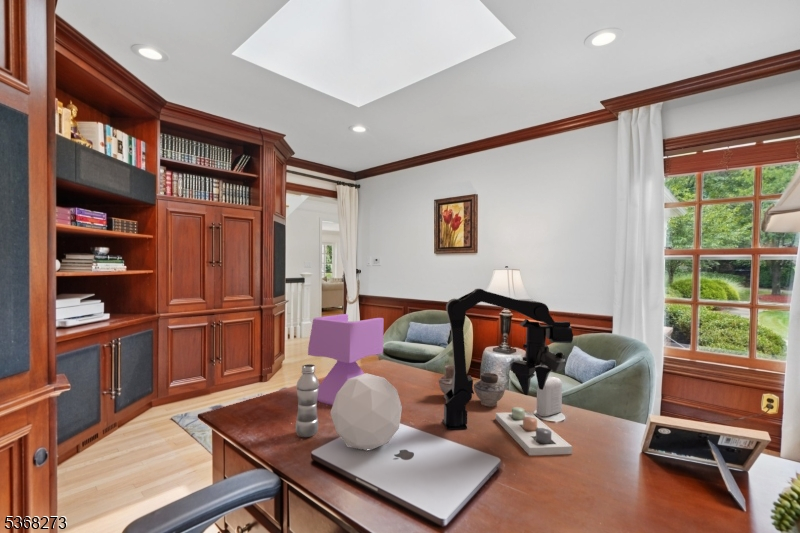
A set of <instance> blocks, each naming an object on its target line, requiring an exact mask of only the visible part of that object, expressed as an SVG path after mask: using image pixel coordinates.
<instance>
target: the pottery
mask: <svg viewBox="0 0 800 533" xmlns="http://www.w3.org/2000/svg"><path fill="white" fill-rule="evenodd" d="M444 368H445V375H443V376H442V377H440V378H439V379H438V381H437V382H438V386H439V388H440V390H441V392H442V393H443V394H444V395H443V398H444V399H445V400H446V398H445V394H446V393H447V392H448V391H449V390H450V389H451V388H452V380H453V374H454V364H447V365H445V366H444ZM480 379H481V380H479V381H477V382H475V383H473V392H474V394H475V395H476V397H477V398H478V399H479V400H480V404H481V405H482V406H485V407H496V406H497V405H498V402H499V401H500V400H501V399H502V398H503V396H504V395H505V391H506V388H505V386H504V385H503V384H501V383H500V382H498V380H499V375H498V374H497V373H494V372H482V373H480Z"/></svg>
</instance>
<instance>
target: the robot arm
mask: <svg viewBox="0 0 800 533" xmlns="http://www.w3.org/2000/svg"><path fill="white" fill-rule="evenodd" d="M479 303H485V304H490V305H493V306H496V307H500V308H504V309H507V310H510V311H514V312H517V313H519V314H521V315H522V316H526V318H524V320H523V321H522V322H520V323H519V325H520V326H521V327H522V328H526V334H525V335H526V336H525V337H526V338H525V343H523V344H522V348H523V349H525V356H523V357H522V360H514V361H513V362H511V363H510V367H509V369H510V371H511V372H512V373H513V374H514V375H515V377H516V379H517V381H518V383H519V385H520V387H521V391H522V392H523V395H525V396H528V395H529V392H530V386H531V379H533V377H535V376H536V381H537V384H538V386H539V389H541V390H543V388H544V386H545V383H546V380H547V377H549V375H550V373H552V372H555V373H556V372H558V371H562V369H563V367H564V365H566V363H567V362H566V356H565V353H563V352H561V351H559V352H557V353H556V354H555V353H554V352H551V351H550V347H549V345H546V342H547V340H549V342H550V344H551V343H552V344H565V345H566V344H569V345H570V344H572V343H573V340H574V333H573V329H572V326H571V322H570V321H568V320H567V321H565V320H563V321H555V320H554V318H553V317H552V316H551V315H550V308H549V306H548V305H547V304H546V303H543V302H540V301H535V300H525V299H517V298H516V299H515V298H512V297H508V296H505V295H502V294H499V293H494V292H491V291H486V290H484V289H482V288H475V289H474V290H472V291H470V292H468V293H467V294H465V295H463V296H461V297H459V298H451V299H449V300H448V301H447V303H446V305H445V310H446V313H447V318H448V321H449V324H450V330H451V343H452V357H453V358H452V360H453V365H454V374H453V380H452V388H451V389H450V390H449V391H448V392H447V393H446V394H445V398H446V399H445V398H444V399H445V403H444V404H443V419H442V423H443V425H444V427H445V428H446V430H465V429H466V430H467V429H468V426H467V424H468V410H467V406H466V405H467V404H468V403H470V401H471V400H472V397H473V395H474V394H475V391H474V380H473V378H472V376H471V375H468V374H467V365H466V364H467V363H466V362H467V361H466V348H465V346H466V345H465V335H464V327H465V321H466V313H467V311H468V310H470V309H472V308H474V307H475V306H476V305H478V304H479ZM528 318H530V319H531V320H534V321H530V320H529V319H528ZM540 322H541V323H542V324H540ZM546 339H547V340H546Z"/></svg>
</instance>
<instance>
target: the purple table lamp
mask: <svg viewBox="0 0 800 533" xmlns="http://www.w3.org/2000/svg"><path fill="white" fill-rule="evenodd" d="M384 329H385V328H384V317H376V318H375V317H374V318H369V319H363V320H357V321H356V320H353V321H351V320H350V321H349V314H348V313H343V314H335V315H334V314H333V315H328V316H327V315H326V316H318V317H314V318H313V319H312V325H311V329H310V335H309V341H308V346H307V348H308V349H307V355H308V356H312V357H322V358H323V357H324V358H330V359H333V360H336V362H335V364H333V367H332V368H331V370H330V371H329V372H328V373H327V374H326V376H325V377H324V379H323V380H322V381H321V382H320V383H319V389H318V396H317V402H319V403H322V404H326V405H330V406H333V403H334V400H335V397H336V394H337V393H338V391H339V390H340V389H341V387H342V386H343V385H344V384H345V382H346V381H347V380H348V379H350V378H353V377H356V376H359V375H362V374H365V372H364V371H363V370H362V368H361V367H360V366H359V365H358V363H357V361H360V360H362V359H364V358H366V357H370V356H377V355H381V354H383V353H384Z"/></svg>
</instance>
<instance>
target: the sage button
mask: <svg viewBox="0 0 800 533" xmlns="http://www.w3.org/2000/svg"><path fill="white" fill-rule="evenodd" d="M525 412H526V409H524V408H523V407H520V406H515V407H511V413H512V419H513V420H514V421H520V420H523V418H524V417H525Z"/></svg>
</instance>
